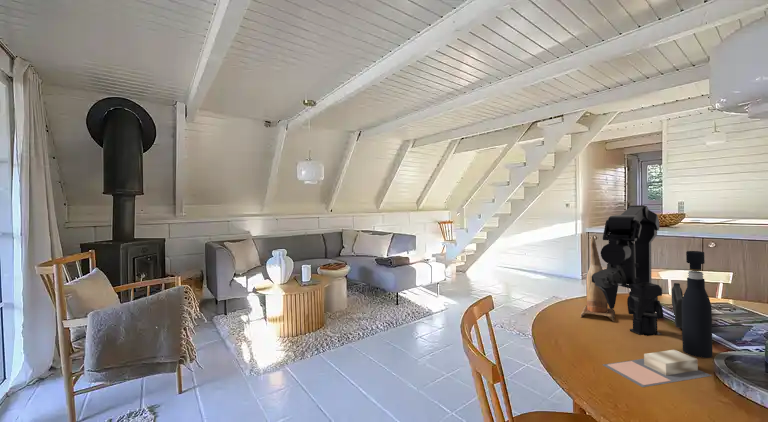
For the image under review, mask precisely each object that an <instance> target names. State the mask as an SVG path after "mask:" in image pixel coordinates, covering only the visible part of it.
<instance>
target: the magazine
mask: <svg viewBox="0 0 768 422" xmlns="http://www.w3.org/2000/svg"><path fill="white" fill-rule="evenodd" d="M683 296H684V294H683V290H682V288H681V284H680V282H674V283H673V286H672V287H671V307H672V306H673V307H672V311H673V310H674V315H675V320H674V324H675V327H676V328H679V329H682V299H683ZM674 315H673V316H674Z"/></svg>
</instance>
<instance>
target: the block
mask: <svg viewBox="0 0 768 422" xmlns="http://www.w3.org/2000/svg"><path fill="white" fill-rule="evenodd" d="M643 359H644V365H646V366H648V367H650V368H652V369H654V370H656V371H658V372H660V373H662V374H664V375H672V374H678V373H684V372H691V371H697V370H699V367H698V366H699V365H698V363H699V362H698V358H697V357H695V356H692V355H689V354H687V353H685V352H681V351H678V350H677V349H668V350H662V351H656V352H649V353H648V352H647V353H643Z"/></svg>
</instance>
